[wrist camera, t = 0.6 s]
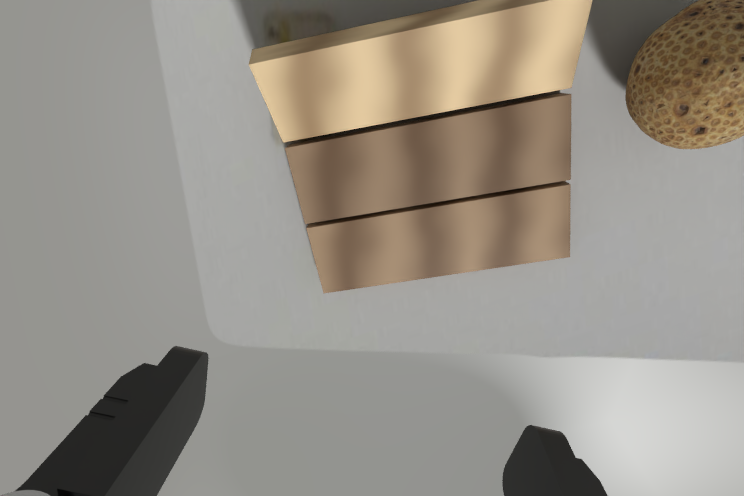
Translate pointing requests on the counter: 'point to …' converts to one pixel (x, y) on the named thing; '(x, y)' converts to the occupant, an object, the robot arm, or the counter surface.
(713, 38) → the natural sponge
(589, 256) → the counter surface
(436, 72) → the board
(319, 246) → the laid floor
